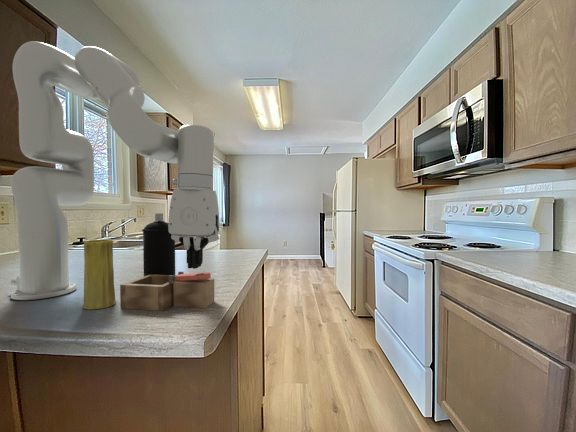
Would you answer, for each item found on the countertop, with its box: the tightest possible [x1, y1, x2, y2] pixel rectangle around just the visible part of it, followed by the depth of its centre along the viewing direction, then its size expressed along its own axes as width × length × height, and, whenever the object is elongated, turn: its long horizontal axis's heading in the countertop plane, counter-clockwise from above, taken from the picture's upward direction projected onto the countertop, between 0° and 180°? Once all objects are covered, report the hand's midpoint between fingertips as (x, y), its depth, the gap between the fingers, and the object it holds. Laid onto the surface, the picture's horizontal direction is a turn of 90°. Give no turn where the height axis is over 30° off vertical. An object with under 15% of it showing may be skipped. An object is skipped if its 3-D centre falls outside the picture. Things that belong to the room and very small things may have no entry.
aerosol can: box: [141, 212, 176, 277], centre depth 77 cm, size 8×8×20 cm
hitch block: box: [119, 271, 215, 312], centre depth 65 cm, size 18×10×7 cm, turn 81°
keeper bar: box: [174, 271, 212, 281], centre depth 64 cm, size 8×3×1 cm, turn 80°
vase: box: [82, 238, 117, 311], centre depth 63 cm, size 6×6×14 cm
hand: (194, 267), depth 64 cm, fingers closed
